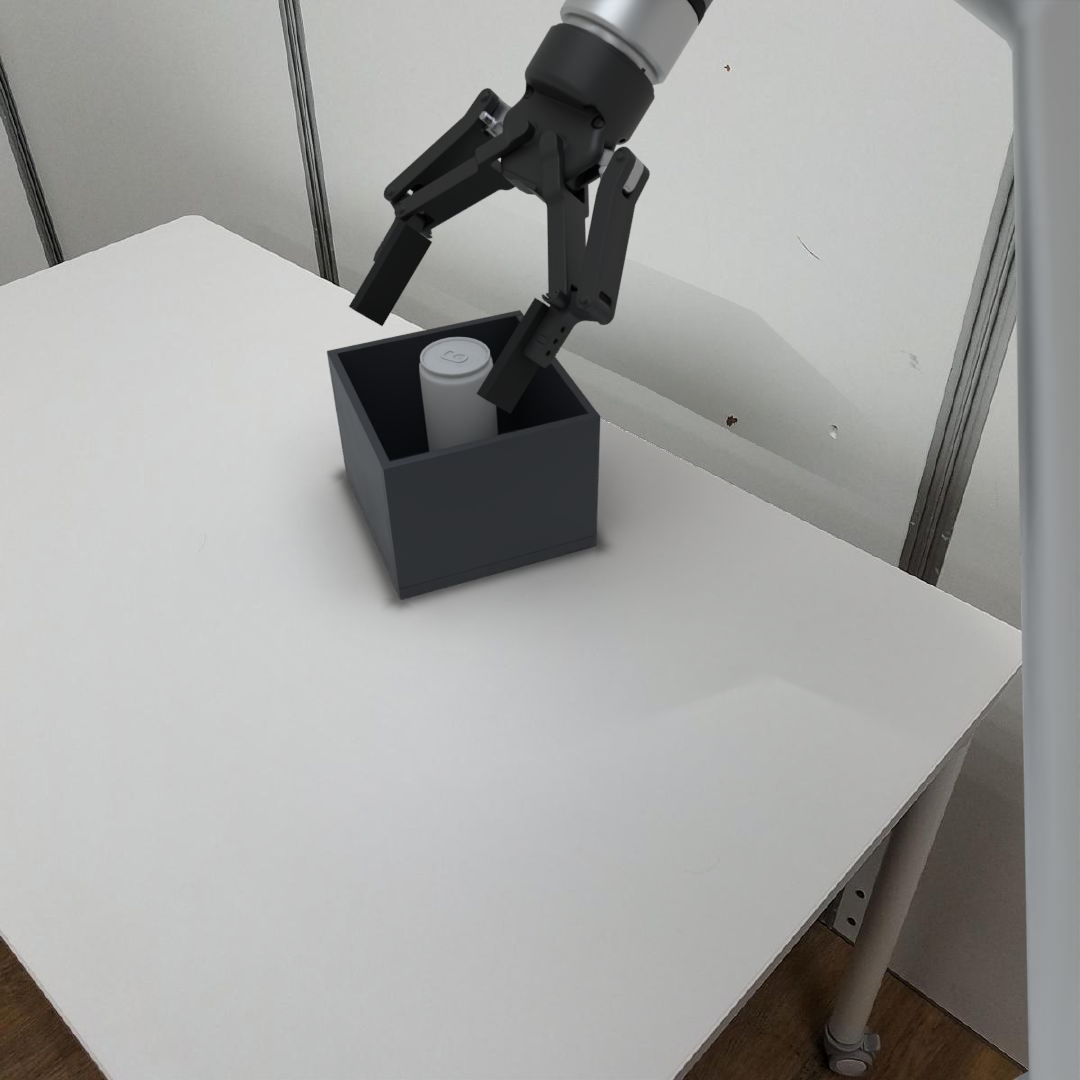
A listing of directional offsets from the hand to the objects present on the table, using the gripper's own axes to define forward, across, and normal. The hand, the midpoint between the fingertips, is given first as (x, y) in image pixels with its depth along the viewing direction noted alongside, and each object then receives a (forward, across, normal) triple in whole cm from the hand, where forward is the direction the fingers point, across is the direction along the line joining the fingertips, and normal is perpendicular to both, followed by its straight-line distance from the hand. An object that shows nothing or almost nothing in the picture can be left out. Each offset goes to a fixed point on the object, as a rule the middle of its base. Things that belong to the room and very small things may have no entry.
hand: (425, 358), depth 70 cm
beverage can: (+7, 0, -11) cm, 13 cm away
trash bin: (+8, 0, -12) cm, 14 cm away
